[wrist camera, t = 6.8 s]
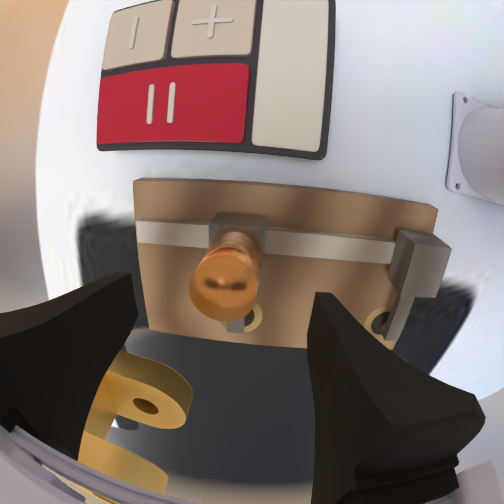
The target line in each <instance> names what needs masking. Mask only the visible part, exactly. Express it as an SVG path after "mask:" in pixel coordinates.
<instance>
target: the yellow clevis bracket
mask: <svg viewBox="0 0 504 504" xmlns="http://www.w3.org/2000/svg"><path fill="white" fill-rule="evenodd" d="M192 398H193V393H192V389H191V387H190V385H189V384H188V382H187V381H186V380H185V379H184V378H183V377H182V376H181V375H180V374H179V373H177V372H176V371H175V370H173V369H172V368H170V367H168V366H166V365H164V364H162V363H160V362H157V361H155V360H151V359H148V358H144V357H141V356H138V355H134V354H131V353H128V352H124V351H121V350H120V351H119V352H118V354H117V356H116V357H115V359H114V360H113V362H112V364H111V365H110V367H109V369H108V370H107V372H106V374H105V375H104V377H103V379H102V381H101V384H100V386H99V388H98V391H97V393H96V395H95V398H94V400H93V403H92V406H91V409H90V412H89V414H88V418H87V421H86V425H85V428H84V432H83V435H82V440H81V445H80V450H79V456H78V461H77V462H79V463H81V464H84V465H86V466H88V467H90V468H92V469H94V470H97V471H99V472H101V473H104V474H106V475H108V476H111V477H113V478H116V479H119V480H121V481H124V482H127V483H129V484H132V485H135V486H138V487H141V488H144V489H148V490H151V491H154V492H158V493H161V494H164V491H165V488H166V484H167V481H168V476H167V475H166V473H165V472H164V471H162V470H161V469H160V468H158V467H157V466H155V465H154V464H152V463H151V462H149V461H147V460H145V459H143V458H142V457H140V456H138V455H136V454H134V453H132V452H130V451H128V450H126V449H123V448H121V447H119V446H117V445H115V444H112V443H110V442H107V441H105V440H104V439H105V437H106V435H107V433H108V431H109V429H110V427H111V425H112V423H113V421H114V419H115V417H116V415H117V414H118V415H121V416H124V417H126V418H129V419H132V420H135V421H137V422H141V423H143V424H146V425H150V426H154V427H157V428H164V429H174V428H178V427H180V426H182V425H183V424H184V423H185V421H186V418H187V414H188V411H189V407H190V405H191V401H192ZM73 483H74V482H73ZM74 484H75V485H76V486H78V487H79V488H80V489H82V490H84V491H85V492H87V493H88V494H90V495H92V496H94V497H96V498H97V499H99V500H101V501H103V502H105V503H108V504H120V503H117V502H115V501H112V500H110V499H108V498H105V497H103V496H101V495H98V494H96V493H94V492H92V491H90V490H88V489H86V488H84V487H82V486H80V485H78V484H76V483H74Z"/></svg>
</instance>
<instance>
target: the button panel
mask: <svg viewBox="0 0 504 504" xmlns="http://www.w3.org/2000/svg"><path fill="white" fill-rule="evenodd" d="M335 14H336V4H335V0H155V1H151V2H146V3H142V4H138V5H134V6H131V7H127V8H124V9H120V10H117V11H115V12H114V13H113V14H112V16H111V19H110V24H109V29H108V34H107V39H106V44H105V50H104V57H103V64H102V71H101V80H100V89H99V100H98V115H97V148H98V150H99V151H116V150H146V149H182V150H213V151H231V152H246V153H258V154H269V155H278V156H287V157H296V158H304V159H311V160H322V159H323V158H324V157H325V156H326V151H327V143H328V133H329V123H330V112H331V100H332V86H333V70H334V51H335Z"/></svg>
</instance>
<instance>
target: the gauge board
mask: <svg viewBox="0 0 504 504" xmlns="http://www.w3.org/2000/svg"><path fill="white" fill-rule="evenodd" d="M133 194H134V211H135V225H136V236H137V246H138V255H139V264H140V272H141V279H142V286H143V293H144V299H145V305H146V311H147V317H148V322H149V328H150V330H155V331H161V332H166V333H172V334H178V335H185V336H192V337H198V338H206V339H212V340H220V341H229V342H237V343H247V344H257V345H269V346H280V347H295V348H307V332H308V327H309V322H310V317H311V312H312V307H313V302H314V297H315V292H329V293H332V294H333V295H334V296H335V297H336V298H337V299H338V300H339V301H340V302H341V303H342V304H343V306H344V307H345V308H346V309H347V310H348V311H349V312H350V313H351V314H352V315H353V316H354V318H355V319H356V320H357V321H358V322H359V323H360V324H361V325H362V326H363V327H364V328H365V329H366V330H367V331H368V332H370V333H371V334H372V335H373V336H374V337H375V338H376V339H377V340H378V341H379V342H381V343H382V344H383V345H384V346H386V347H387V348H388V349H393V348H394V345H395V343H396V341H398V339H399V336H400V334H401V332H402V329H403V327H404V324H405V322H406V319H407V317H408V314H409V312H410V309H411V306H412V304H413V301H414V298H415V297H432V298H436V295H437V292H438V289H439V287H440V284H441V281H442V278H443V275H444V272H445V269H446V266H447V263H448V259H449V256H450V253H451V249H452V248H450V247H449V246H448V245H447V244H445V243H444V242H443V241H442V240H440V239H439V238H438V237H436V236H435V235H434V234H433V230H434V226H435V221H436V217H437V212H438V209H437V208H435V207H433V206H431V205H428V204H423V203H417V202H412V201H406V200H400V199H395V198H389V197H382V196H376V195H369V194H362V193H355V192H348V191H340V190H332V189H324V188H315V187H306V186H296V185H285V184H273V183H261V182H246V181H229V180H207V179H169V178H140V179H137V180H135V181H133ZM217 213H230V214H244V215H257V216H266V219H265V233H264V246H263V258H262V270H261V278H260V286H259V287H258V288H257V296H256V302H255V305H254V307H253V309H252V310H251V311H250V312H249V313H248V314H247V315H246V316H245V327H244V333H243V334H239V333H230V332H227V322H224V321H217V320H214V319H211V318H209V317H207V316H205V315H204V314H202V313H201V312H200V311H199V310H198V309H197V308H196V307H195V306H194V304H193V302H192V301H191V298H190V295H189V283H190V280H191V278H192V276H193V274H194V272H195V271H196V269H197V267H198V266H199V264H200V262H201V260H202V259H203V257H204V255H205V254H206V252H207V250H208V249H209V223H210V222H211V221H212V219H213V218H214V217H215V215H216V214H217Z"/></svg>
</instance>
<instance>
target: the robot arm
mask: <svg viewBox="0 0 504 504" xmlns="http://www.w3.org/2000/svg"><path fill="white" fill-rule="evenodd" d="M463 98H464V99H465V103H464V101H463ZM456 184H458V186H457V188H456V187H455V185H456ZM446 186H447V188H448V190H450V191H453V192H457V193H461V194H465V195H468V196H472V197H476V198H479V199H483V200H486V201H489V202H493V203H496V204H499V205H502V206H504V109H493V108H491V107H490V106H488V105H486V104H484V103H482V102H480V101H478V100H476V99H474V98H472V97H470V96H468V95H465V94H463V93H461V92H456V93H455V94H454V107H453V129H452V142H451V152H450V161H449V168H448V176H447V182H446ZM137 317H138V312H137V307H136V301H135V296H134V290H133V285H132V278H131V273H124V272H116V273H113V274H110V275H107V276H105V277H102V278H100V279H98V280H96V281H93V282H91V283H89V284H87V285H85V286H82V287H80V288H78V289H76V290H73V291H71V292H69V293H66V294H64V295H62V296H59V297H57V298H54V299H52V300H49V301H47V302H44V303H41V304H38V305H35V306H31V307H27V308H23V309H19V310H15V311H11V312H5V313H0V504H85V503H84V502H85V500H86V499H85V497H84V496H82V495H81V494H79V493H77V492H76V491H74V490H73V489H71V488H70V487H68V486H67V485H66V484H65V483H63V482H62V481H61V480H60V479H58V478H57V477H56V476H55V475H54V474H52V473H51V472H49V471H48V470H46V469H45V468H44V467H42V464H43V465H44V466H46V467H48V468H49V469H51V470H52V471H54V472H56V473H58V474H59V475H61V476H63V477H65V478H66V479H68V480H70V481H72V482H74V483H76V484H78V485H80V486H82V487H84V488H86V489H88V490H90V491H92V492H94V493H96V494H98V495H101V496H103V497H105V498H108V499H110V500H112V501H115V502H117V503H120V504H205V503H200V502H195V501H190V500H185V499H181V498H176V497H173V496H169V495H165V494H161V493H158V492H154V491H151V490H148V489H144V488H141V487H138V486H135V485H132V484H129V483H127V482H124V481H121V480H119V479H116V478H113V477H111V476H108V475H106V474H104V473H101V472H99V471H97V470H94V469H92V468H90V467H88V466H86V465H84V464H81V463H79V462H77V461H78V456H79V450H80V445H81V440H82V435H83V432H84V428H85V425H86V421H87V418H88V414H89V412H90V409H91V406H92V403H93V400H94V398H95V395H96V393H97V391H98V388H99V386H100V384H101V381H102V379H103V377H104V375H105V374H106V372H107V370H108V369H109V367H110V365H111V364H112V362H113V360H114V359H115V357H116V356H117V354H118V352H119V351H120V349H121V348H122V346H123V344H124V343H125V341H126V339H127V338H128V336H129V335H130V332H131V330H132V328H133V326H134V324H135V321H136V319H137ZM307 358H308V364H309V372H310V379H311V385H312V392H313V398H314V407H315V461H314V462H315V463H314V477H313V488H312V498H311V504H504V501H503V498H502V494H501V490H500V487H499V483H498V480H497V477H496V474H495V471H494V468H493V465H492V462H491V460H490V459H488V460H486V461H484V462H482V463H480V464H477V465H475V466H473V467H470V468H468V469H466V470H464V471H462V472H460V473H459V474H457V475H456V473H455V469H454V467H456V466H457V465H458V464H459V460H458V457H457V454H458V453H459V452H460V451H461V450H462V449H463V448H464V447H465V446H466V445H467V444H468V443H469V442H470V441H472V440H473V438H474V437H475V436H476V435H477V434H478V433H479V432H480V430H481V429H482V427H483V425H484V423H485V418H486V417H485V415H484V413H483V411H482V409H481V407H480V405H479V403H478V401H477V399H476V397H475V395H474V394H472V393H469V392H466V391H464V390H461V389H458V388H456V387H453V386H450V385H448V384H446V383H444V382H442V381H440V380H437V379H435V378H433V377H431V376H429V375H428V374H426V373H424V372H422V371H420V370H419V369H417V368H416V367H414V366H412V365H411V364H409V363H408V362H406V361H404V360H403V359H402V358H400V357H399V356H397V355H396V354H395V353H393V352H392V351H391V350H389V349H388V348H387V347H386V346H384V345H383V344H382V343H381V342H379V341H378V340H377V339H376V338H375V337H374V336H373V335H372V334H371V333H370V332H368V331H367V330H366V329H365V328H364V327H363V326H362V325H361V324H360V323H359V322H358V321H357V320H356V319H355V318H354V316H353V315H352V314H351V313H350V312H349V311H348V310H347V309H346V308H345V307H344V306H343V304H342V303H341V302H340V301H339V300H338V299H337V298H336V297H335V296H334V295H333V294H332V293H329V292H315V297H314V302H313V307H312V312H311V317H310V322H309V327H308V332H307Z"/></svg>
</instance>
